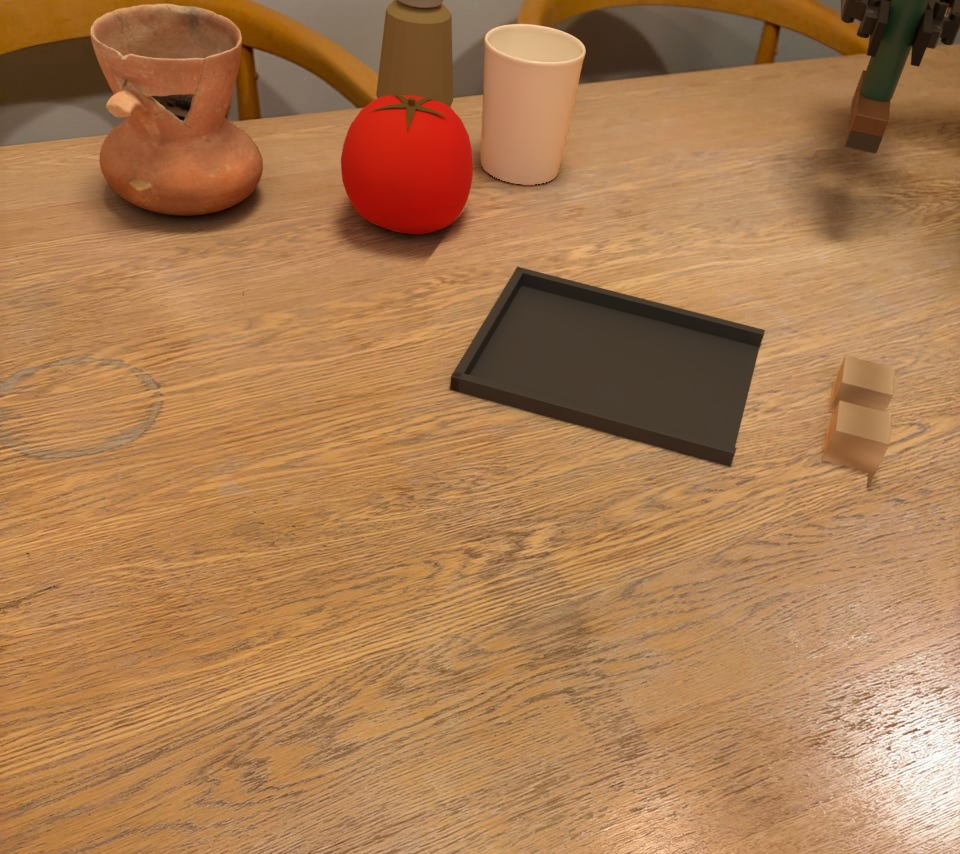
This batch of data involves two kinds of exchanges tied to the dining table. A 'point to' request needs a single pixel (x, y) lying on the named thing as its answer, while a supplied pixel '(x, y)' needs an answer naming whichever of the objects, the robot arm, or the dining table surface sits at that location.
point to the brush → (883, 76)
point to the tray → (614, 364)
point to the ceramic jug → (174, 109)
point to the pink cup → (528, 101)
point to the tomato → (407, 164)
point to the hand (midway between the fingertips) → (899, 44)
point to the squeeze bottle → (417, 51)
